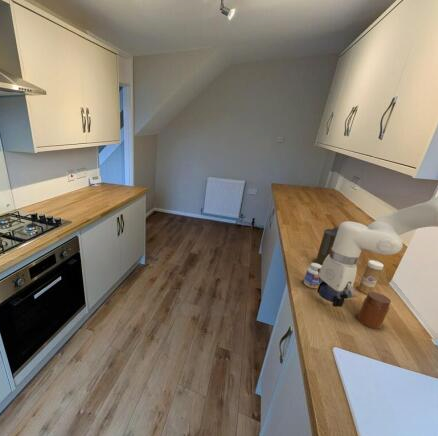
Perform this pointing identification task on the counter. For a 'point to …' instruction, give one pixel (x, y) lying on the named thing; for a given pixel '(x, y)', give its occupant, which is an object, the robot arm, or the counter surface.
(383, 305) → the jar
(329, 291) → the lid
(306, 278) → the pill bottle
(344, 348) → the counter surface
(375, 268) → the sprinkles bottle
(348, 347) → the counter surface
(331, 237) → the canister
